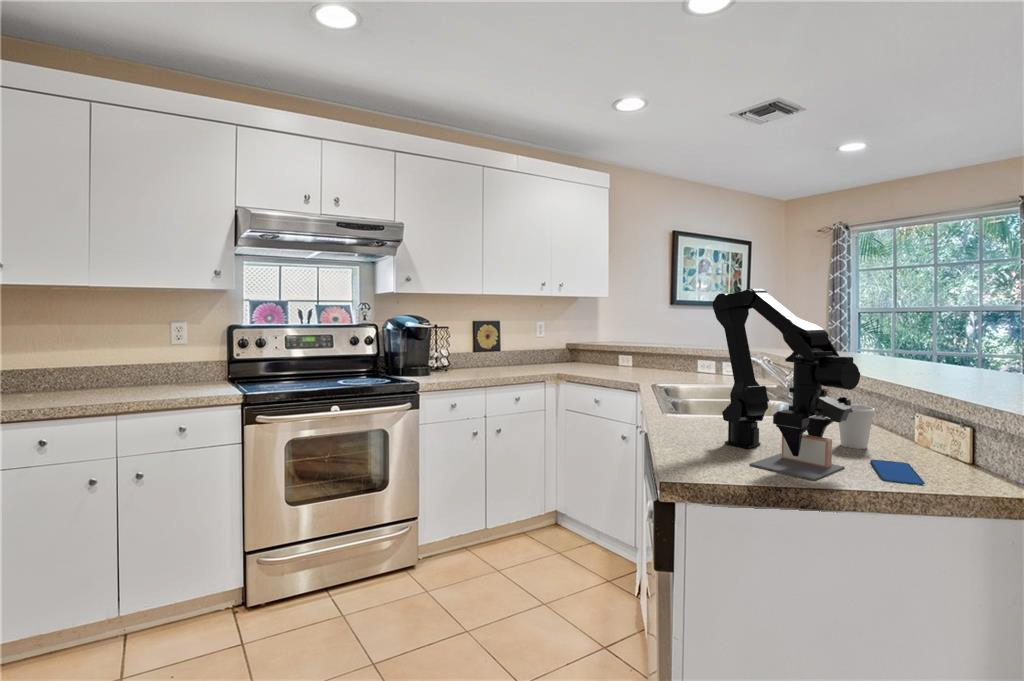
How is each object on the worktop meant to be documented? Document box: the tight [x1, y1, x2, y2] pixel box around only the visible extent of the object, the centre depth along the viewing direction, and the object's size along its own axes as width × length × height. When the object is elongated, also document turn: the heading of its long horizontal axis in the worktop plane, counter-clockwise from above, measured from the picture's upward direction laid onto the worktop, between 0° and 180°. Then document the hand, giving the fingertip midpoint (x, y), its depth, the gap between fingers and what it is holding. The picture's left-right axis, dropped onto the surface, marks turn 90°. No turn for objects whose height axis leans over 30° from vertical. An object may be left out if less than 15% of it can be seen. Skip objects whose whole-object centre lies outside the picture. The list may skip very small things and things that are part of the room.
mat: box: [749, 452, 846, 482], centre depth 122 cm, size 14×14×1 cm
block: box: [781, 433, 833, 468], centre depth 124 cm, size 10×2×6 cm, turn 37°
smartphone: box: [870, 459, 926, 486], centre depth 117 cm, size 7×1×15 cm
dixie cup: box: [838, 403, 876, 450], centre depth 140 cm, size 8×8×10 cm
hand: (805, 452), depth 124 cm, fingers open, 9 cm apart
